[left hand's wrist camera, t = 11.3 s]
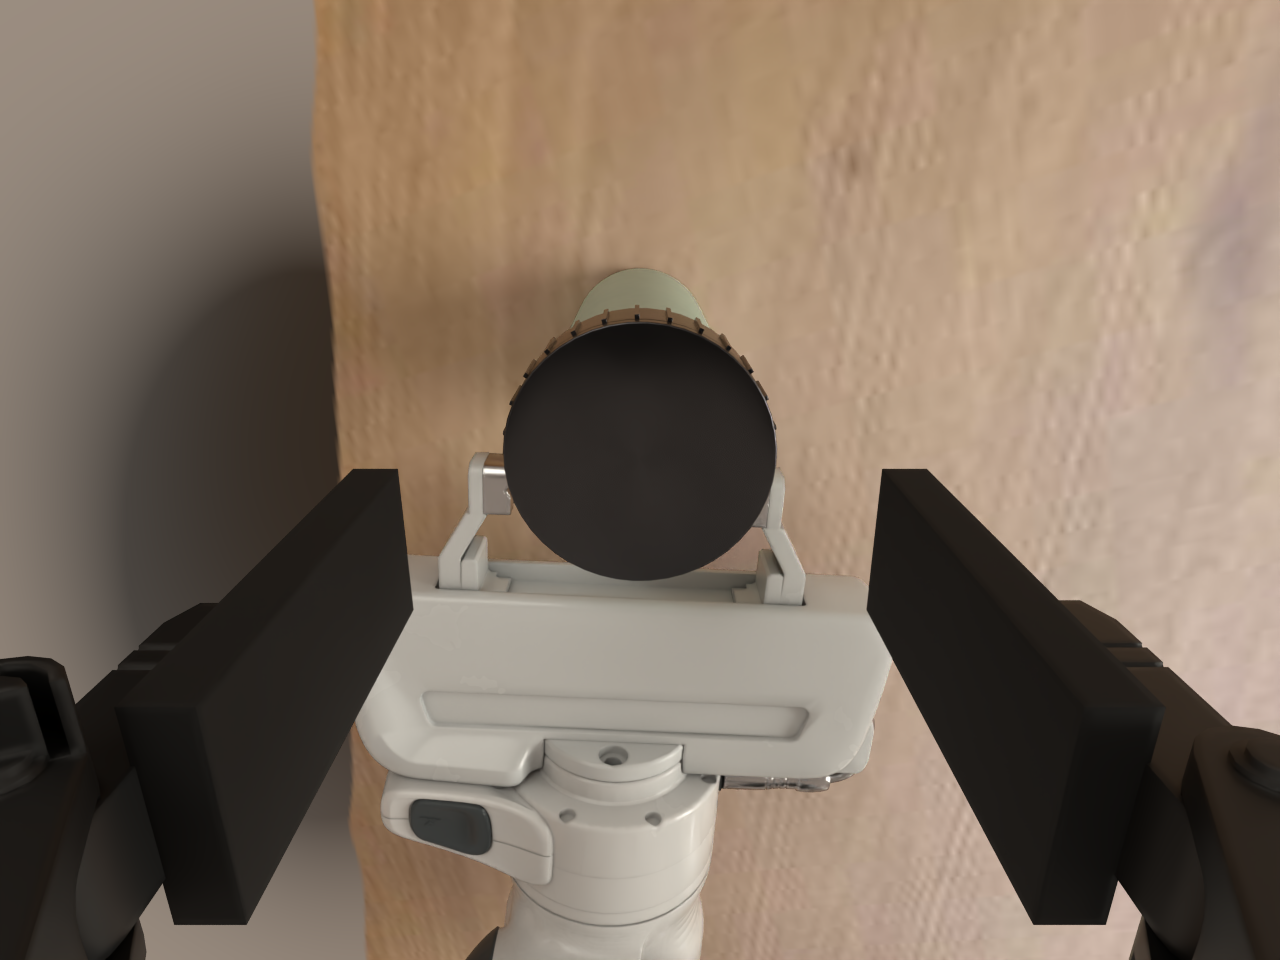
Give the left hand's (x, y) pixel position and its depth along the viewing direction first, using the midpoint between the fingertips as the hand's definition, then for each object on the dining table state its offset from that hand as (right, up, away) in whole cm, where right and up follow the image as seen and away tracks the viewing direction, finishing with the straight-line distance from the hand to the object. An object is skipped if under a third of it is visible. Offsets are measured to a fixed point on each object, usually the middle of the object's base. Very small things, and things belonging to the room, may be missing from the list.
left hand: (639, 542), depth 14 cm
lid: (0, +2, +4) cm, 5 cm away
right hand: (0, +2, +14) cm, 14 cm away
